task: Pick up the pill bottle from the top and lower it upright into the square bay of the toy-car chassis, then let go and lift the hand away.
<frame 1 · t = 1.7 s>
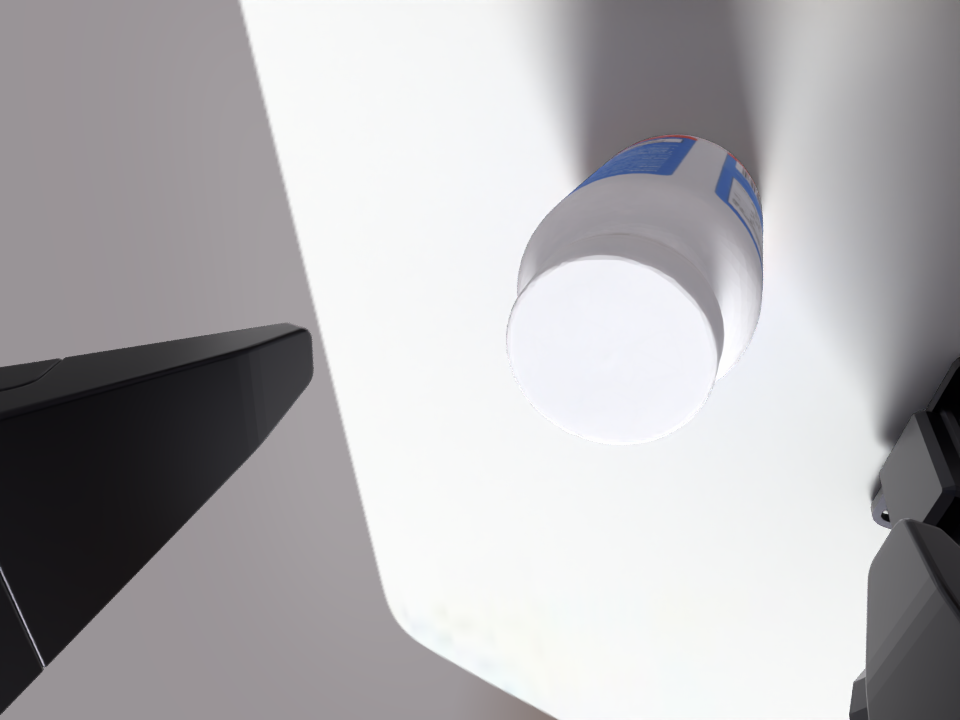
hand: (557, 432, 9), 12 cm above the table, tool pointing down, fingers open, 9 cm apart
pill bottle: (671, 221, 19), on the table
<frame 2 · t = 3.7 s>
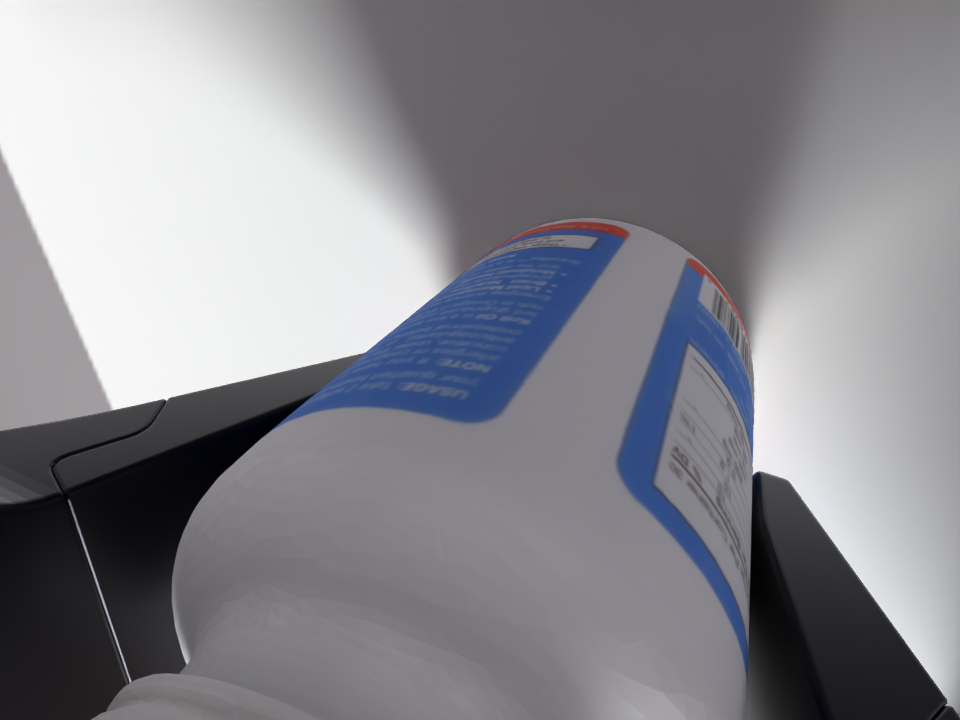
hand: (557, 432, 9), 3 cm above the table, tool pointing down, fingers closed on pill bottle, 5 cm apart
pill bottle: (598, 354, 11), on the table, touching gripper
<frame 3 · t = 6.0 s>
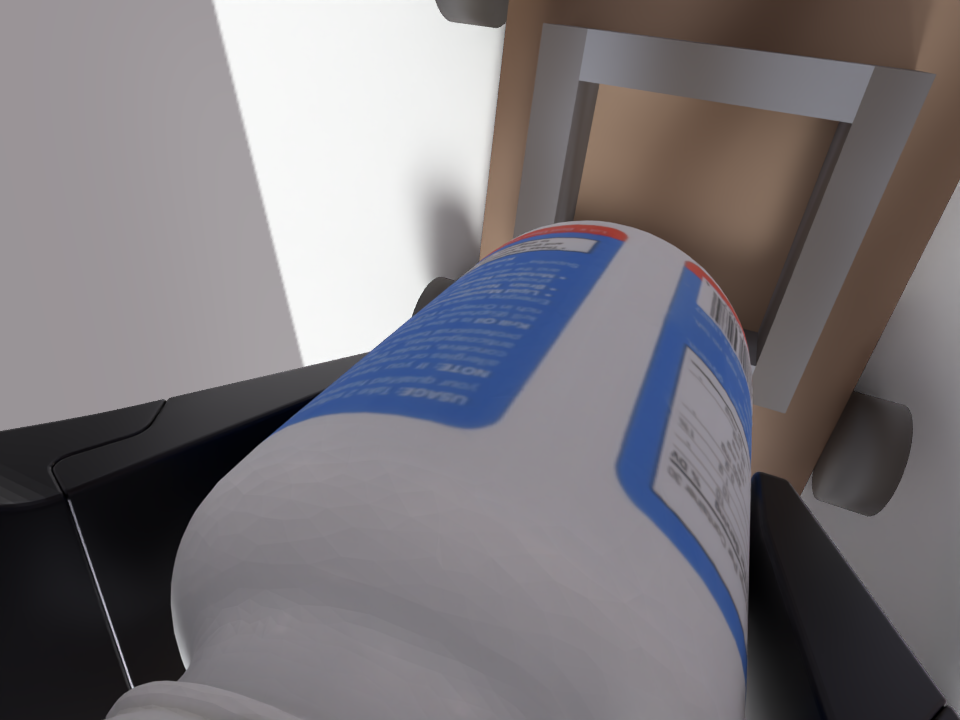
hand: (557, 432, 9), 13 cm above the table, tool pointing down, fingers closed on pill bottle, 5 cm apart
pill bottle: (597, 356, 11), point 11 cm above the table, touching gripper
chassis: (686, 202, 19), on the table
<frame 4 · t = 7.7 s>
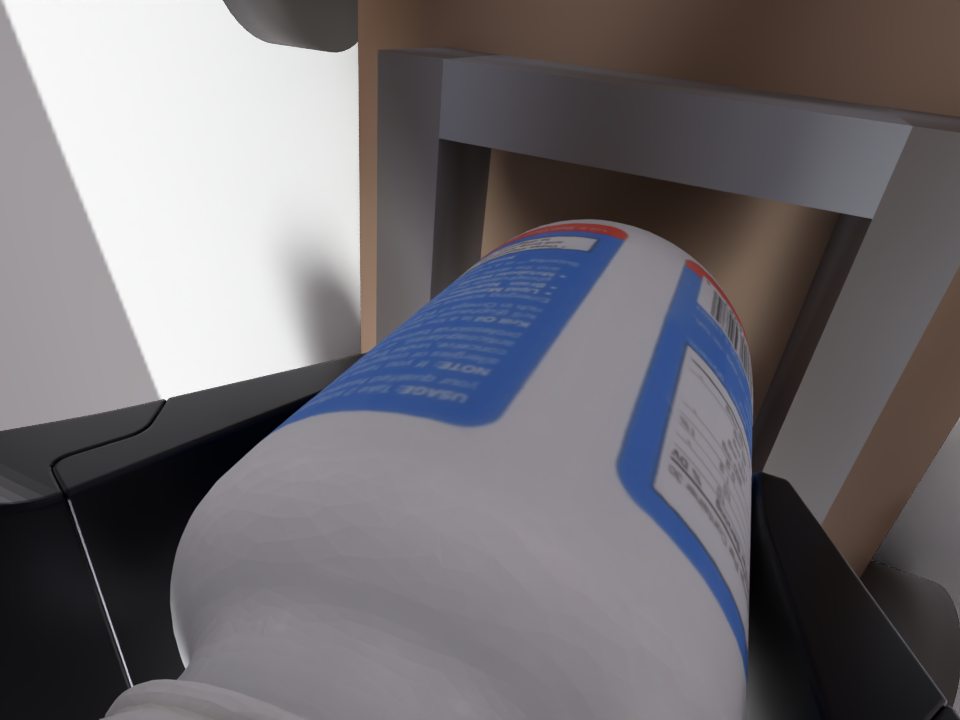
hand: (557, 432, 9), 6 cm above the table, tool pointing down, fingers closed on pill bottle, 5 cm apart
pill bottle: (597, 355, 11), point 3 cm above the table, touching gripper
chassis: (629, 292, 14), on the table
when the fingers open (5 cm above the table, at t = 8.8 s): pill bottle drops 1 cm, resting on chassis.
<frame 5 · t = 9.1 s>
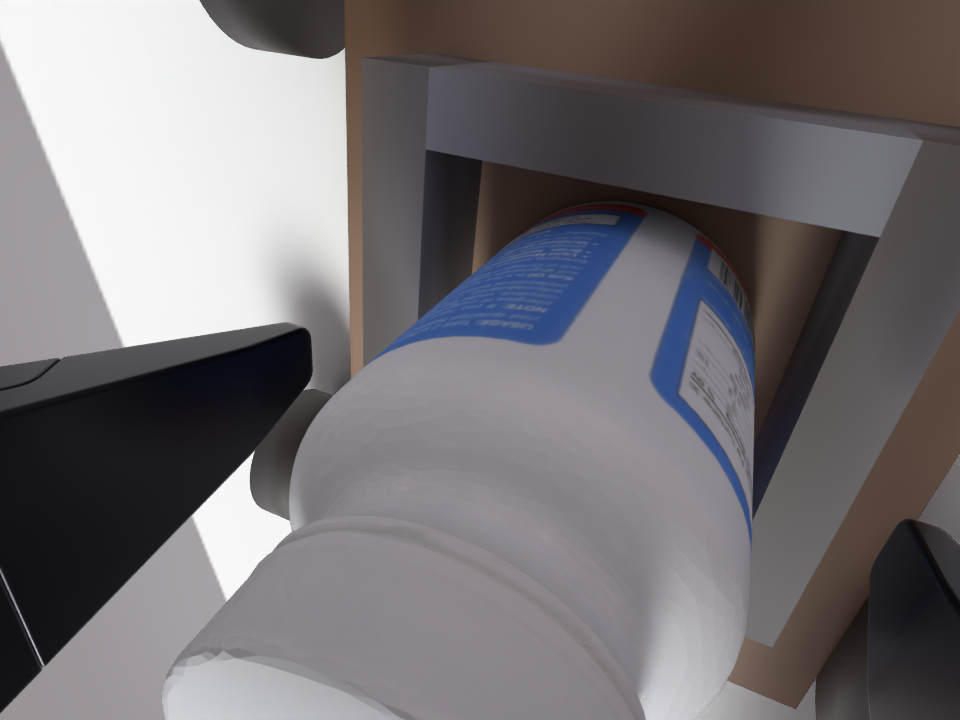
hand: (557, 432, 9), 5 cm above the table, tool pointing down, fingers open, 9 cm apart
pill bottle: (616, 324, 13), point 1 cm above the table, touching chassis
chassis: (625, 305, 13), on the table
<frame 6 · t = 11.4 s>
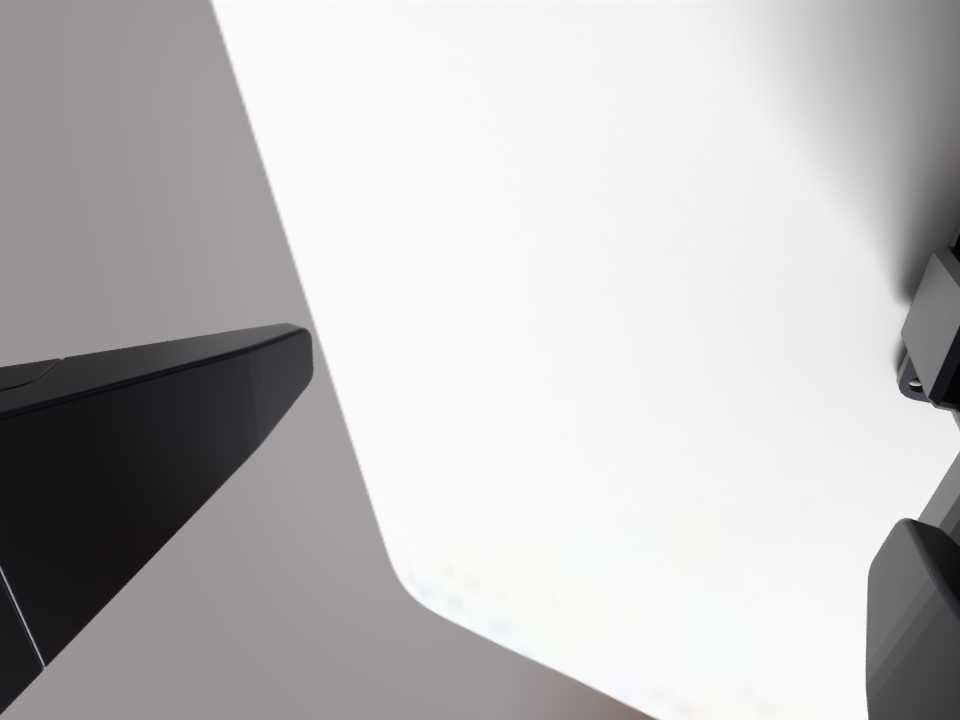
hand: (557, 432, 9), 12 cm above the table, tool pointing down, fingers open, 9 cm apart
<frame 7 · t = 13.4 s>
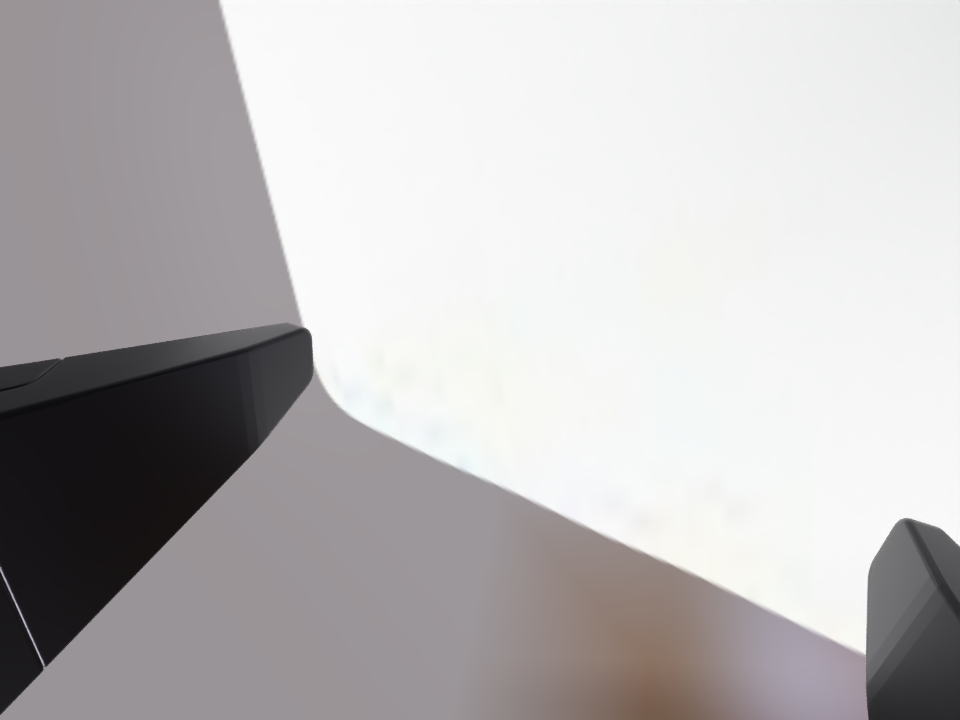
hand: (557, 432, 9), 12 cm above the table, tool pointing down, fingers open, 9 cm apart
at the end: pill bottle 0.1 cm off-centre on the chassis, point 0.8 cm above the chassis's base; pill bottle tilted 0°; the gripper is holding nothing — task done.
